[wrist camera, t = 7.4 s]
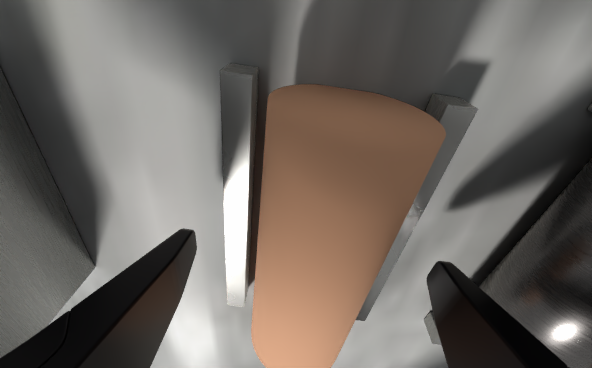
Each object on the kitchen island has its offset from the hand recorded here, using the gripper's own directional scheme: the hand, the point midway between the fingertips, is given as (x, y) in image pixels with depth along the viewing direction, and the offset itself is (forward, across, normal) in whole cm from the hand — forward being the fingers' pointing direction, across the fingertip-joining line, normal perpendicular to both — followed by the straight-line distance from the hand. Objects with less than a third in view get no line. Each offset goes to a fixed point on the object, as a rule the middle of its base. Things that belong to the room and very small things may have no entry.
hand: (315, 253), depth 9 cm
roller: (+2, 0, 0) cm, 2 cm away
